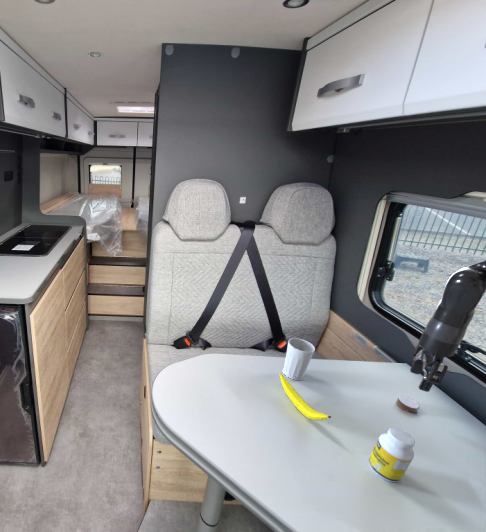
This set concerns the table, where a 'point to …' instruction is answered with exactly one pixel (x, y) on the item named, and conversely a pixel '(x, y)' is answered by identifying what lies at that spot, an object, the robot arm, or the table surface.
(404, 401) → the brown bottle cap
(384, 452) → the pill bottle
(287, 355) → the cup
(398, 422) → the table surface
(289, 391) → the banana
